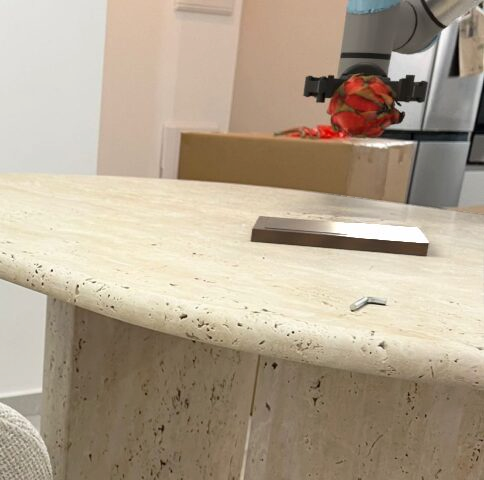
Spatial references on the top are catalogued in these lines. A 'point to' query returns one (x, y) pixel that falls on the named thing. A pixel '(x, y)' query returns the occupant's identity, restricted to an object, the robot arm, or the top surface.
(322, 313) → the top surface
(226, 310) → the top surface
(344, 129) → the dragon fruit
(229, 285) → the top surface
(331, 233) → the cutting board
